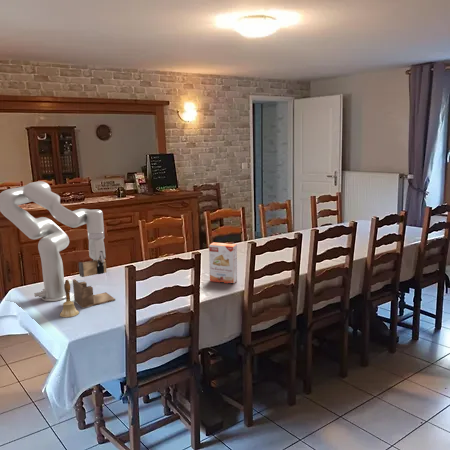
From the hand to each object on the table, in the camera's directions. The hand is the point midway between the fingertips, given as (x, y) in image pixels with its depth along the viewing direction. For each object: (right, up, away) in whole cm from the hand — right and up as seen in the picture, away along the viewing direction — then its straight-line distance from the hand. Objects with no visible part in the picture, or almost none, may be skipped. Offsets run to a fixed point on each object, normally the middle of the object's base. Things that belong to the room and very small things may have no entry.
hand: (99, 272), depth 219 cm
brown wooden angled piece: (-2, -14, +1) cm, 14 cm away
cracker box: (+60, -8, +27) cm, 66 cm away
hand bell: (-9, -17, -15) cm, 25 cm away
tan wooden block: (-2, -1, -2) cm, 3 cm away
